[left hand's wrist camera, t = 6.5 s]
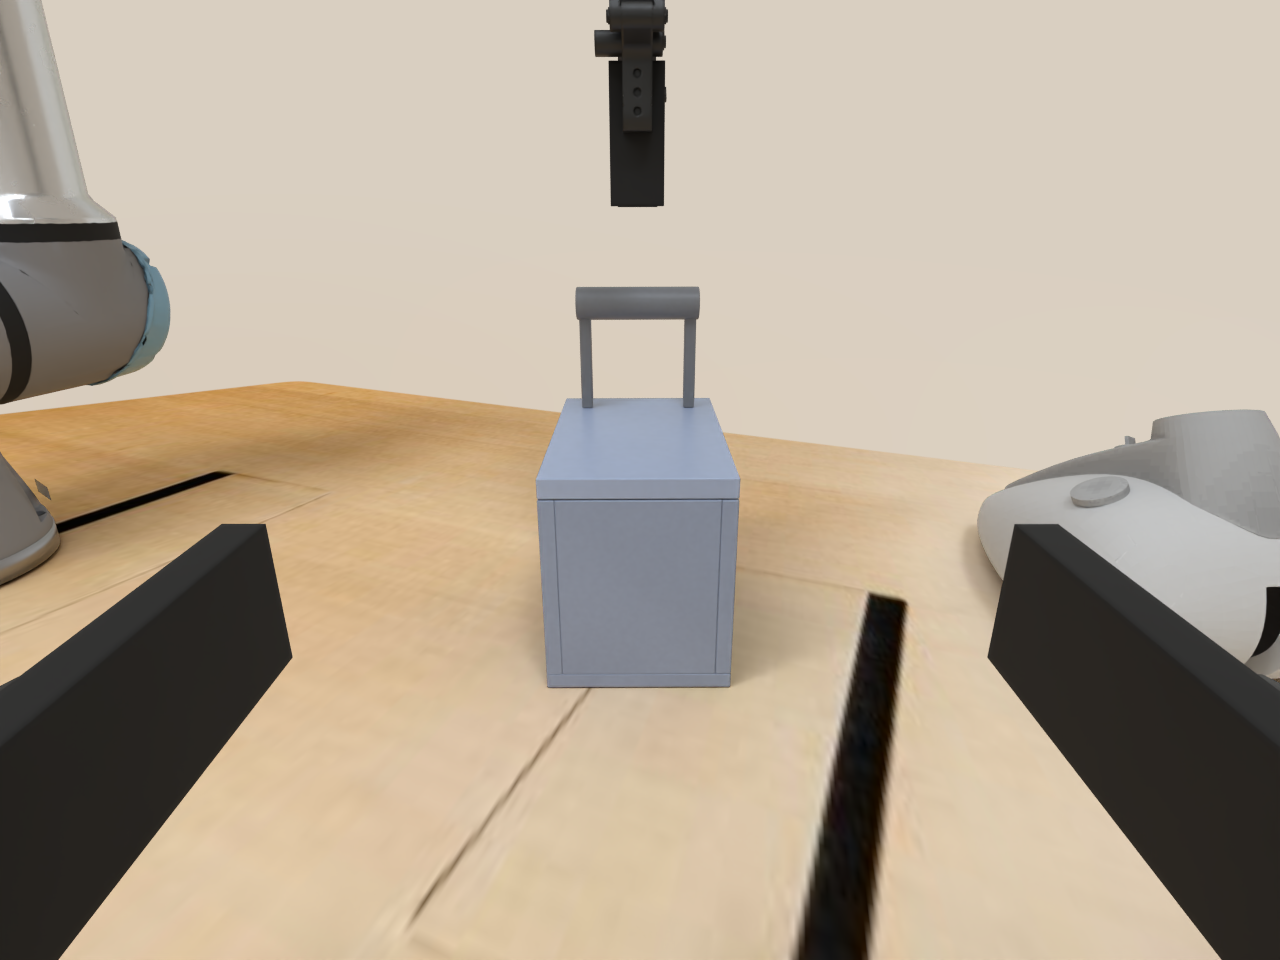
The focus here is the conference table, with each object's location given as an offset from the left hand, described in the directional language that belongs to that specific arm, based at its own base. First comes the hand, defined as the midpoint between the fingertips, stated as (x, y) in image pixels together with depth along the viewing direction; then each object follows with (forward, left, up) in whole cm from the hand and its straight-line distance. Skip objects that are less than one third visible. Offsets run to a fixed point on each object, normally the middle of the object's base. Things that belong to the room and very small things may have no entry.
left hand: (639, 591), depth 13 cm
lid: (+25, -15, -7) cm, 30 cm away
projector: (+10, -42, -18) cm, 47 cm away
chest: (+25, -15, -18) cm, 34 cm away
